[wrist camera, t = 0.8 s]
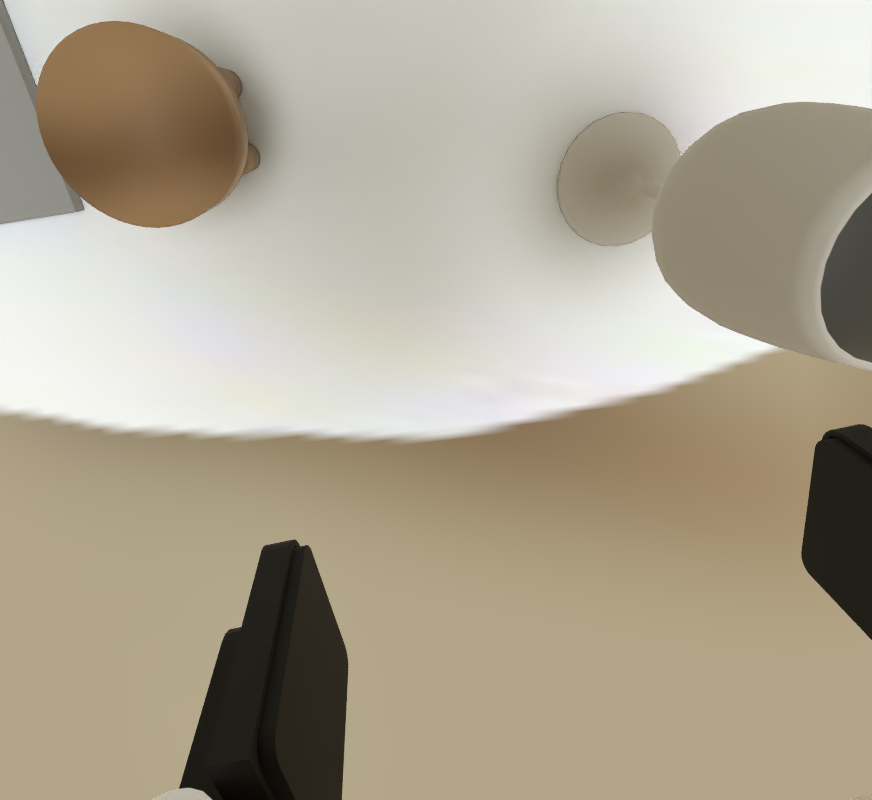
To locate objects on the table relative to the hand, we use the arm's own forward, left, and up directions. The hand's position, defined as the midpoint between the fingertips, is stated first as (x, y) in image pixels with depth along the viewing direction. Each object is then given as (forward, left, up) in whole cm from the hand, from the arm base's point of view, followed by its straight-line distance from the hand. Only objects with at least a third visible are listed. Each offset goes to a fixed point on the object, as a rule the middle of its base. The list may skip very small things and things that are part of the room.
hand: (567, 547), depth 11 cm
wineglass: (-2, +11, -27) cm, 29 cm away
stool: (-8, -11, -26) cm, 30 cm away
